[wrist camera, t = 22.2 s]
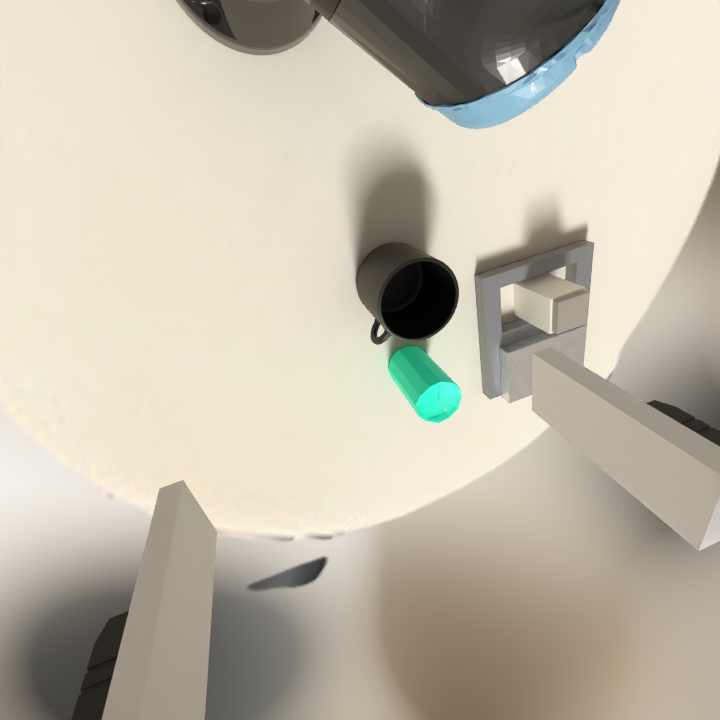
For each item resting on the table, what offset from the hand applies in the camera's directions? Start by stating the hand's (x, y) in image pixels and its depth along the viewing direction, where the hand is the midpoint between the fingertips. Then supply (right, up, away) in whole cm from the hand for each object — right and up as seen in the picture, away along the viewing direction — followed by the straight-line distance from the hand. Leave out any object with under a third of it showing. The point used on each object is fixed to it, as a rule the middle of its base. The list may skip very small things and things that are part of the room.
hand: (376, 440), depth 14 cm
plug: (+24, +13, +42) cm, 50 cm away
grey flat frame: (+25, +9, +44) cm, 51 cm away
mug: (+3, +12, +35) cm, 37 cm away
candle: (+6, +2, +41) cm, 42 cm away
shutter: (+27, +3, +45) cm, 52 cm away
